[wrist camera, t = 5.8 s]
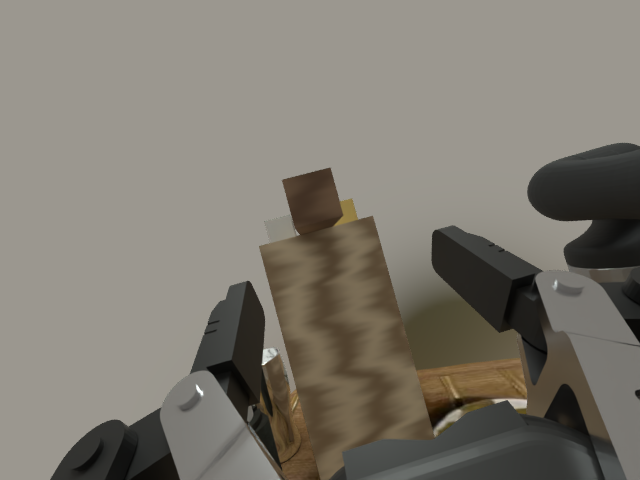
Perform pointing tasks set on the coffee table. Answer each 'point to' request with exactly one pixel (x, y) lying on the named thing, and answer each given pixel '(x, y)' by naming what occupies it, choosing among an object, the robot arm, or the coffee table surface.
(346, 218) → the mustard cube
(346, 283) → the oak pedestal
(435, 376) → the coffee table surface
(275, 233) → the grey cube
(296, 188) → the brown wooden bar
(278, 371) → the beer glass
